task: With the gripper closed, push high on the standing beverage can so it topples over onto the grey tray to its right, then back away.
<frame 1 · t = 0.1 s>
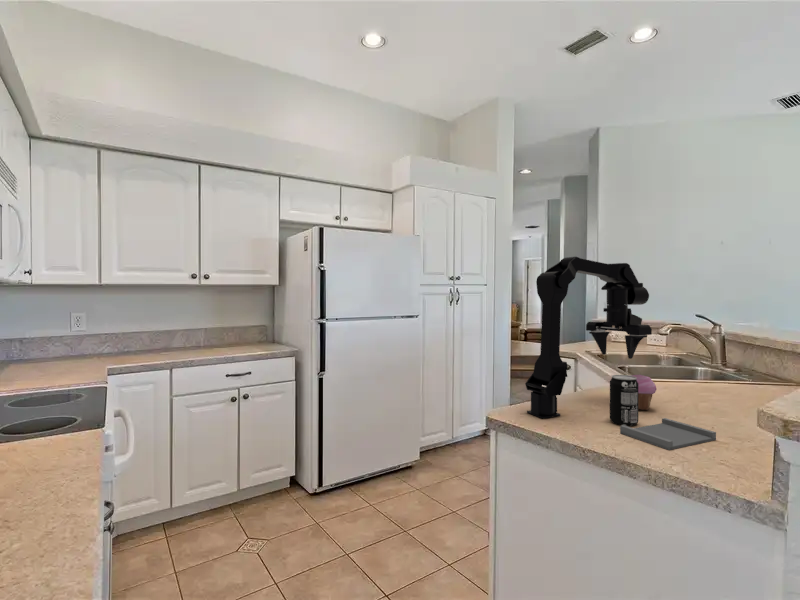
hand: (616, 356, 127), 15 cm above the countertop, fingers open, 9 cm apart
grey tray: (666, 436, 98), on the countertop
beverage can: (623, 423, 109), on the countertop
cupcake: (638, 409, 122), on the countertop
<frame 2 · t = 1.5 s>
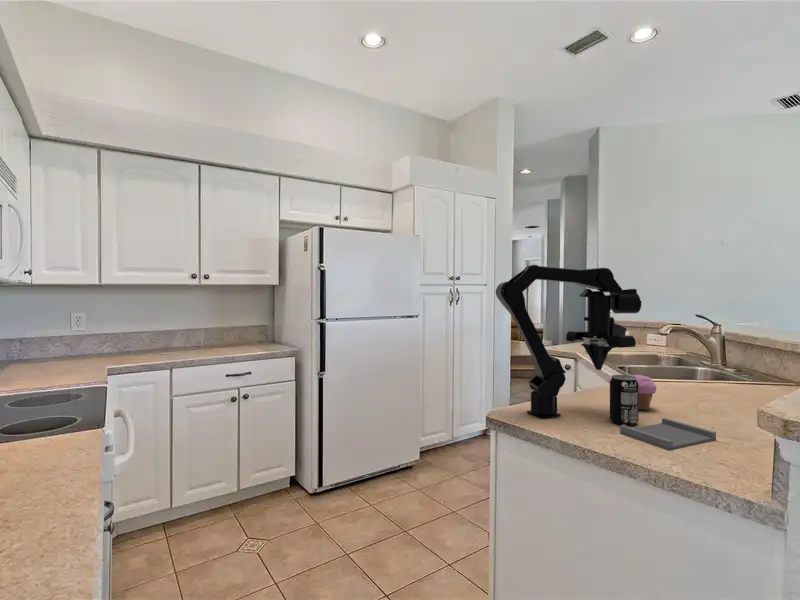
hand: (598, 369, 116), 12 cm above the countertop, fingers closed
nothing on the countertop moved.
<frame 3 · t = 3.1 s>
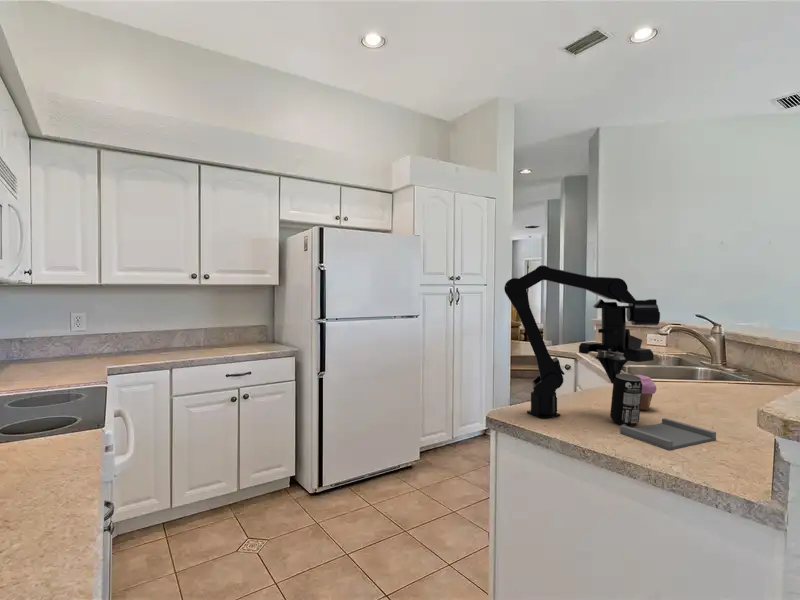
hand: (613, 383, 112), 10 cm above the countertop, fingers closed
beverage can: (623, 422, 109), on the countertop, touching gripper
everything else where it was.
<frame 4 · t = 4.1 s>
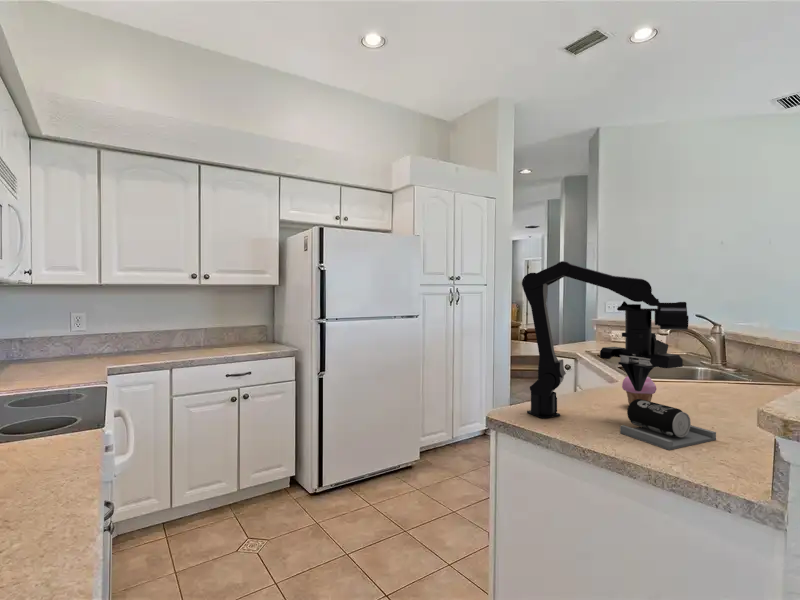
hand: (638, 391, 105), 9 cm above the countertop, fingers closed
beverage can: (634, 410, 106), point 4 cm above the countertop, touching grey tray
everything else where it was.
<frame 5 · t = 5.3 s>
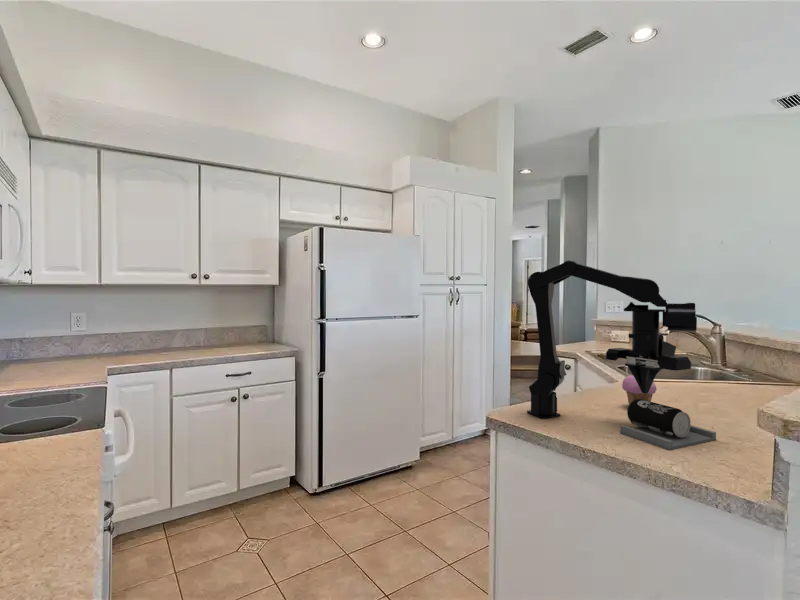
hand: (645, 393, 103), 9 cm above the countertop, fingers closed
nothing on the countertop moved.
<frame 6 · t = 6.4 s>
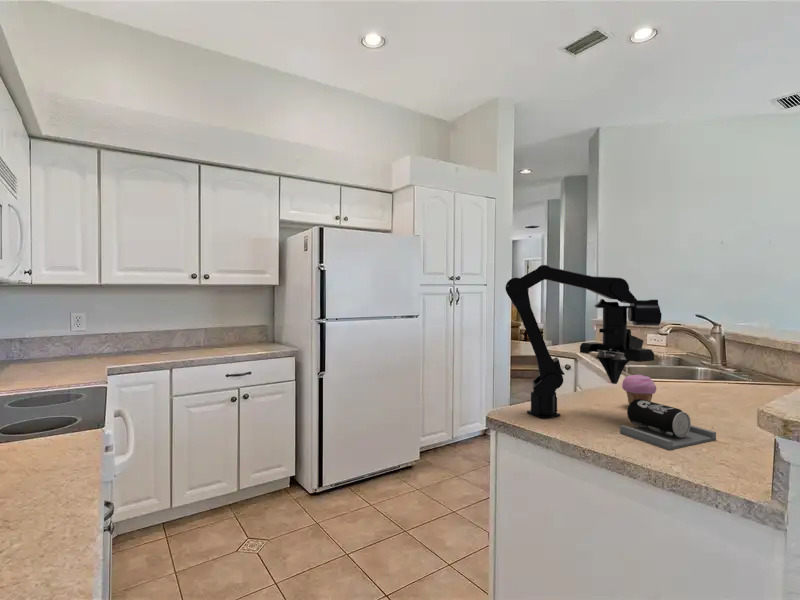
hand: (614, 383, 111), 10 cm above the countertop, fingers closed
nothing on the countertop moved.
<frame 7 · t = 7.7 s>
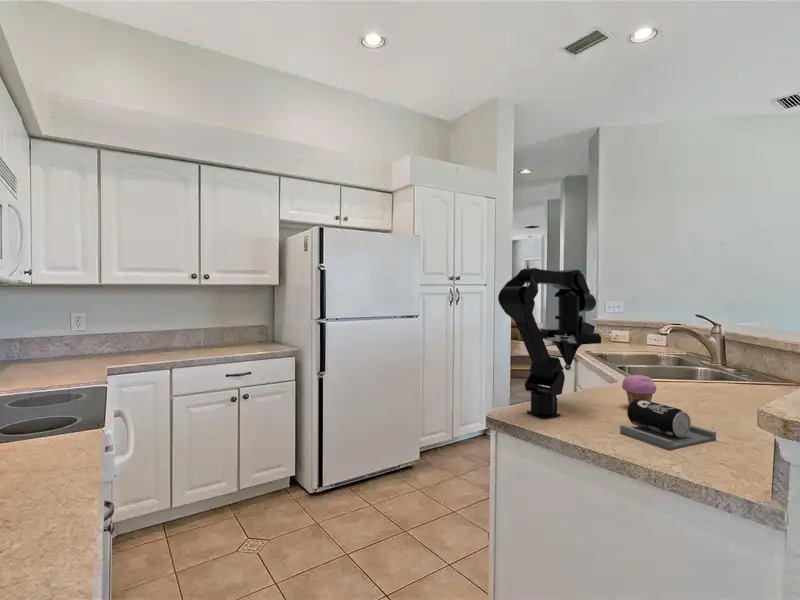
hand: (568, 365, 124), 13 cm above the countertop, fingers closed
nothing on the countertop moved.
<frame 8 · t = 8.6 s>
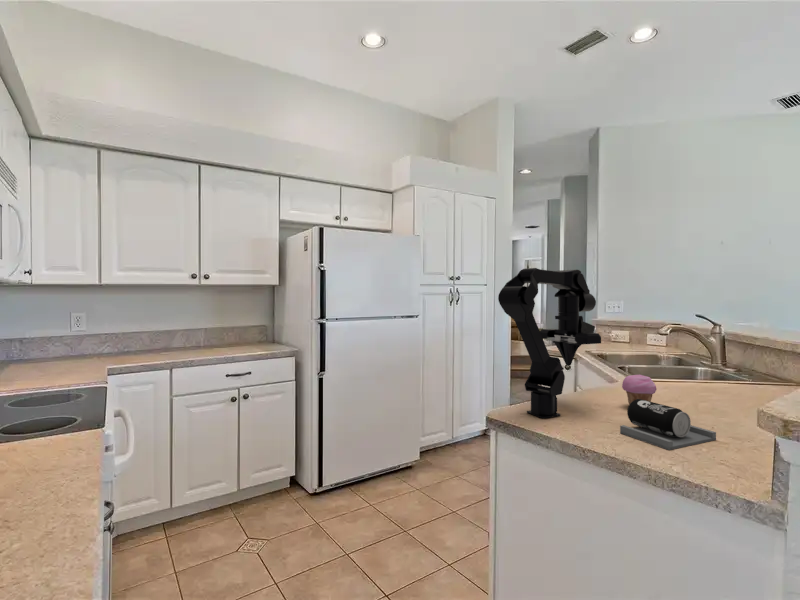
hand: (568, 365, 124), 13 cm above the countertop, fingers closed
nothing on the countertop moved.
at the end: beverage can tilted 90°; beverage can inside the target area (6.9 cm from its centre), point 3.9 cm above the countertop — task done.
